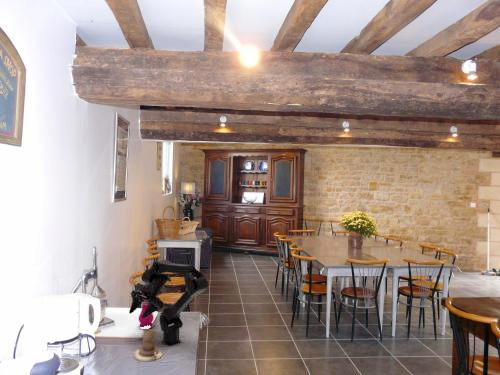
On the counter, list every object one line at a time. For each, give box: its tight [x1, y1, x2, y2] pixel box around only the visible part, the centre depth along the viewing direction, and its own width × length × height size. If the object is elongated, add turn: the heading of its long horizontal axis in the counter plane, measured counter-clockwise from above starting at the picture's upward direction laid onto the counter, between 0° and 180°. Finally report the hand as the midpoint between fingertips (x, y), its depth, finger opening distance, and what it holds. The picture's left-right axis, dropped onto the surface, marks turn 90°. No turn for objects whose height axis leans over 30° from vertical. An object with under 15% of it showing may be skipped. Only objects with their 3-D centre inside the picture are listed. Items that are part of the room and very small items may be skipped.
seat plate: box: [133, 347, 164, 362], centre depth 173 cm, size 12×12×3 cm
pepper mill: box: [138, 300, 154, 329], centre depth 205 cm, size 7×7×20 cm
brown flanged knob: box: [138, 328, 160, 357], centre depth 173 cm, size 8×8×9 cm
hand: (135, 315), depth 182 cm, fingers open, 9 cm apart
